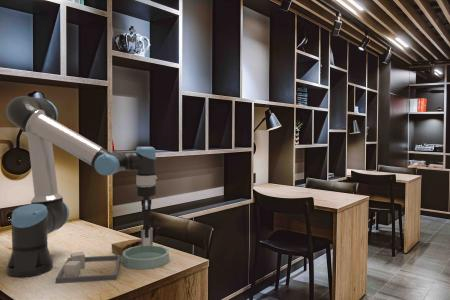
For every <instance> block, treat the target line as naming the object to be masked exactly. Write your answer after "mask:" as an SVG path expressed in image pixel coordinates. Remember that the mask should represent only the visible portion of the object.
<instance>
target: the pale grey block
mask: <svg viewBox="0 0 450 300" xmlns="http://www.w3.org/2000/svg"><path fill="white" fill-rule="evenodd" d="M69 253H70V254H69V255H70V257H69V258H71V261H80V269H84V268H86V262H85V257H86V255H85V253H84V251H82V250H81V251H76V252H69Z"/></svg>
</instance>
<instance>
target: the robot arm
mask: <svg viewBox="0 0 450 300" xmlns="http://www.w3.org/2000/svg"><path fill="white" fill-rule="evenodd" d="M5 110H6V116H7V119H8V120H9V121H10V122H11V124H13V125H14V126H16V127H17V128H19V129H20V130H22V134H24V136H26V137H27V143H28V150H29V151H28V152H29V159H30V167H31V177H32V185H33V193H34V197H33V198H32V199H31V200H30V204H26V205H22V206H19V207H16V208H15V209H14V210H13V211H12V213H11V220H10V223H11V246H12V247H11V249H12V251H11V254H10V257H9V259H8V262H7V267H6V273H7V275H8V276H10V277H15V278H27V277H33V276H38V275H42V274H45V273H48V272H49V271H51V270H52V269H53V267H54V264H53V263H54V261H53V258H52V255H51V253H50V250H49V247H48V235H49V234H51V233H53V232H55V231H58V230H59V229H61V228H62V227H63V226H64V225H65V224H66V223H67V222H68V220H69V217H70V209H69V207H68V205H67V204H66V203H65V202H64V200H63V199H64V198H63V195H61V194H60V193H59V189H58V181H57V173H56V165H55V164H56V163H55V155H54V149H53V148H54V147H53V145H55V146H56V147H58V148H60V149H62V150H64V151H65V152H67V153H69V154H71V155H72V156H74V157H76V158H78V159H79V160H81V161H82V162H84V163H86V164H88V165H90V166H92V167H93V168H94V169H95V171H96V172H97V174H99V175H101V176H112V175H115V173H116V174H117V173H119V172H122V171H129V172H130V171H136V174H135V175H136V178H135V179H136V180H135V181H136V185H137V186H136V196H137V197H143V198H142V199H141V202H140V205H141V211H142V213H143V214H142V215H143V217H142V218H143V220H142V224H143V225H142V226H143V227H141V228H140V229H141V230H143V246H148V245H150V228H151V226H152V222H151V219H150V218H151V216H150V213H151V211H152V199H150V197H154V196H156V195H157V187H156V184H157V183H156V181H157V179H158V177H157V176H156V175H157V174H156V173H157V170H156V167H157V166H156V163H157V161H156V160H157V157H156V148H155V147H153V146H137V147H136V149H135V151H117V150H115V151H109V150H107V149H105V148H103V147H102V146H101V145H99V144H97V143H96V142H93V141H92V140H89V138H86V137H85V136H83V135H81V134H80V133H77V132H76V131H74V130H73V129H70V128H68V127H67V126H65V125H64V124H62V123H60V122H58V118H59V112H58V109H57V107H56V106H55V105H54V102H51V101H50V100H47V99H45V98H42V97H34V96H29V95H28V96H26V95H20V96H16V97H14V98H12V99H11V100H10V101H9V102H8V103H7V106H6V109H5ZM141 230H140V231H141Z"/></svg>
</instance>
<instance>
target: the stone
mask: <svg viewBox="0 0 450 300" xmlns="http://www.w3.org/2000/svg"><path fill="white" fill-rule="evenodd" d="M140 245H141V238H139V239H129V240H125V241H119V242H114V243H111V253H112V255H121V258H122V255H123V251H125V250H126V249H128V248H131V247H136V246H140Z"/></svg>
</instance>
